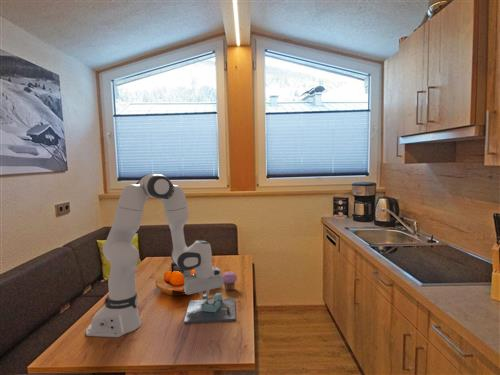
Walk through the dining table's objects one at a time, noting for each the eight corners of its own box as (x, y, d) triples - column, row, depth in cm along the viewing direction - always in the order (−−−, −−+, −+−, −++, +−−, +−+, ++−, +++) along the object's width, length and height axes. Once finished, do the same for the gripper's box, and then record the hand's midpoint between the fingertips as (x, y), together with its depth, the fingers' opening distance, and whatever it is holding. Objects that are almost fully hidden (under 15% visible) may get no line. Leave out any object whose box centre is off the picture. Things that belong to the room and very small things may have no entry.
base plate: (184, 323, 145) (183, 310, 145) (189, 302, 167) (189, 291, 167) (235, 321, 147) (235, 307, 146) (234, 300, 169) (234, 288, 168)
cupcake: (222, 293, 178) (222, 275, 178) (220, 287, 187) (220, 270, 186) (238, 291, 180) (238, 274, 179) (236, 285, 189) (235, 268, 188)
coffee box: (171, 291, 183) (170, 263, 182) (179, 287, 189) (178, 259, 187) (184, 293, 179) (183, 265, 177) (191, 289, 184) (190, 261, 183)
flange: (215, 312, 153) (214, 305, 152) (201, 310, 155) (201, 304, 154) (225, 299, 166) (225, 293, 166) (213, 298, 168) (213, 292, 168)
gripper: (185, 278, 156) (186, 306, 157) (224, 270, 166) (225, 296, 167) (181, 274, 161) (182, 301, 163) (219, 266, 171) (220, 292, 172)
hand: (204, 298), depth 165 cm, fingers closed
